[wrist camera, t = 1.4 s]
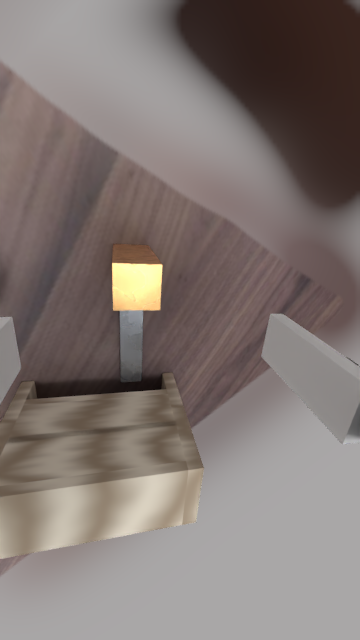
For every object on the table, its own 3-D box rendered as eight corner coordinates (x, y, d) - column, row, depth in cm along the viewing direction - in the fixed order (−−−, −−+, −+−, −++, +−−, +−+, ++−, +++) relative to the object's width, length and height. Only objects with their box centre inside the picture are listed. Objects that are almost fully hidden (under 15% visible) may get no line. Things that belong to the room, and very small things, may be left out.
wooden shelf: (30, 428, 39) (-20, 562, 24) (21, 381, 36) (-42, 503, 21) (169, 415, 43) (195, 522, 29) (172, 372, 40) (203, 467, 26)
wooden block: (116, 375, 38) (116, 436, 28) (113, 243, 31) (112, 263, 22) (144, 374, 39) (154, 432, 29) (148, 245, 32) (162, 264, 22)
